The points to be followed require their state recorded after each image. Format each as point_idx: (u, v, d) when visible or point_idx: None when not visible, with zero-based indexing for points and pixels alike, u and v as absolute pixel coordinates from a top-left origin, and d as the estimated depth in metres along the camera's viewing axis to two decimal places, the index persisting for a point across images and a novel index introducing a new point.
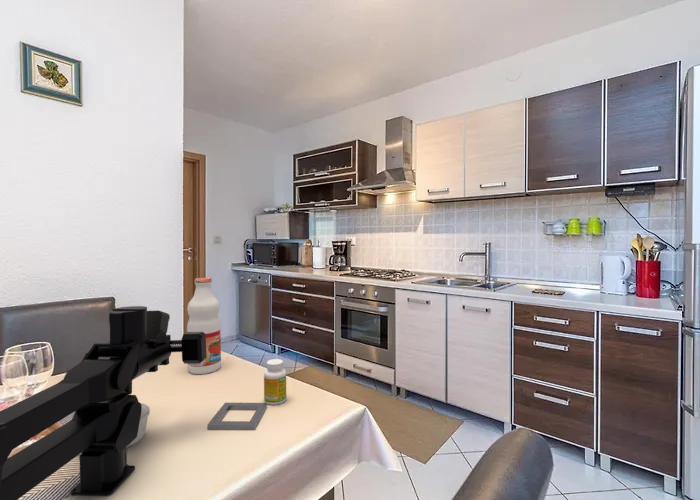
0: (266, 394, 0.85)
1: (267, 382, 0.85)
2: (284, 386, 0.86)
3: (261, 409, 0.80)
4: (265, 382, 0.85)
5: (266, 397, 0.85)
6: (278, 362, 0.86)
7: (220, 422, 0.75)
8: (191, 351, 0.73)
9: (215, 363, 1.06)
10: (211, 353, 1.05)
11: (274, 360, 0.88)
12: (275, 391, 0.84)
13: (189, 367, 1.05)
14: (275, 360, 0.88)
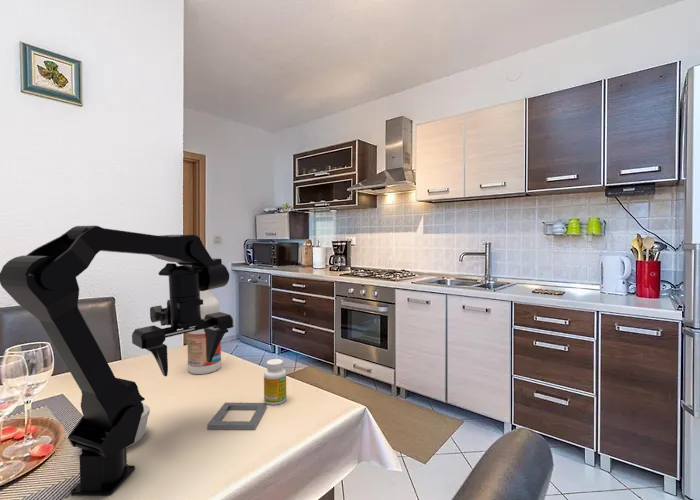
0: (266, 394, 0.85)
1: (267, 382, 0.85)
2: (284, 386, 0.86)
3: (261, 409, 0.80)
4: (265, 382, 0.85)
5: (266, 397, 0.85)
6: (278, 362, 0.86)
7: (220, 422, 0.75)
8: (220, 314, 0.79)
9: (215, 363, 1.06)
10: None
11: (274, 360, 0.88)
12: (275, 391, 0.84)
13: (189, 367, 1.05)
14: (275, 360, 0.88)
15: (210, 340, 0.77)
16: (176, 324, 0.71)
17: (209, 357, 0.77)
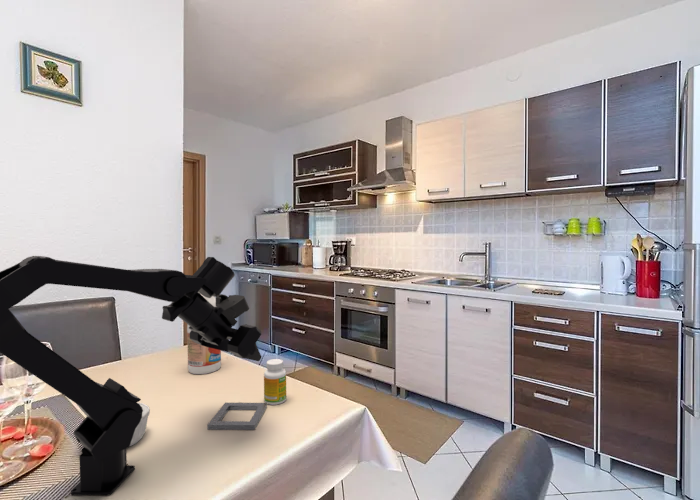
0: (266, 394, 0.85)
1: (267, 382, 0.85)
2: (284, 386, 0.86)
3: (261, 409, 0.80)
4: (265, 382, 0.85)
5: (266, 397, 0.85)
6: (278, 362, 0.86)
7: (220, 422, 0.75)
8: (239, 337, 0.70)
9: (215, 363, 1.06)
10: (211, 353, 1.05)
11: (274, 360, 0.88)
12: (275, 391, 0.84)
13: (189, 367, 1.05)
14: (275, 360, 0.88)
15: None
16: None
17: None
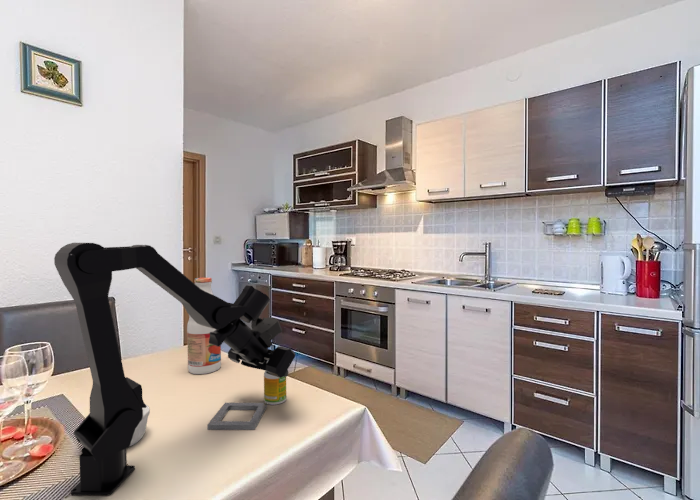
0: (266, 394, 0.85)
1: (267, 382, 0.85)
2: (284, 386, 0.86)
3: (261, 409, 0.80)
4: (265, 382, 0.85)
5: (266, 397, 0.85)
6: None
7: (220, 422, 0.75)
8: (276, 359, 0.78)
9: (215, 363, 1.06)
10: (211, 353, 1.05)
11: None
12: (275, 391, 0.84)
13: (189, 367, 1.05)
14: None
15: None
16: None
17: None
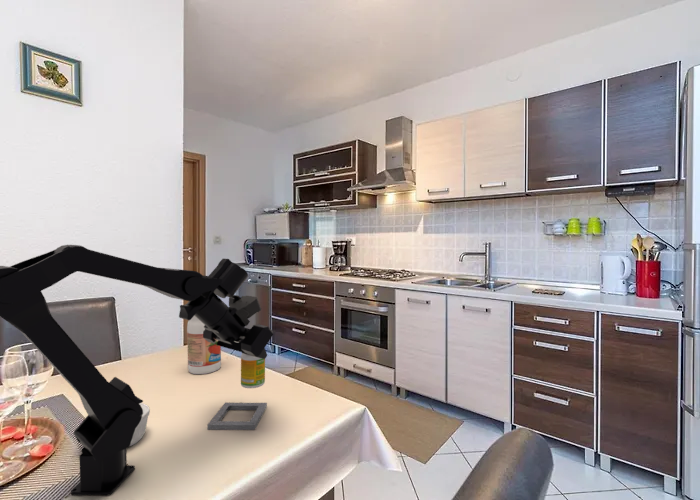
0: (243, 377, 0.80)
1: (243, 363, 0.79)
2: (262, 369, 0.81)
3: (261, 409, 0.80)
4: (242, 364, 0.80)
5: (242, 380, 0.80)
6: None
7: (220, 422, 0.75)
8: (252, 336, 0.72)
9: (215, 363, 1.06)
10: (211, 353, 1.05)
11: None
12: (252, 374, 0.79)
13: (189, 367, 1.05)
14: None
15: None
16: None
17: None
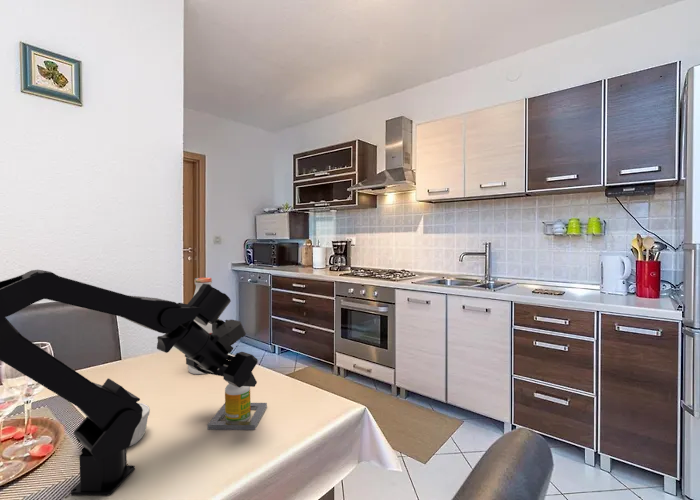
0: (227, 412, 0.76)
1: (227, 398, 0.76)
2: (247, 402, 0.78)
3: (261, 409, 0.80)
4: (226, 398, 0.77)
5: (227, 415, 0.76)
6: None
7: (220, 422, 0.75)
8: (235, 366, 0.69)
9: None
10: None
11: None
12: (236, 408, 0.76)
13: (189, 367, 1.05)
14: None
15: None
16: None
17: None
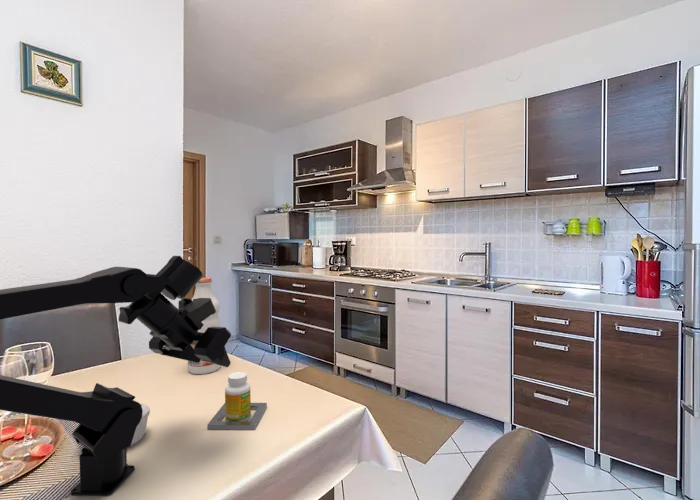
0: (227, 412, 0.76)
1: (227, 398, 0.76)
2: (247, 402, 0.78)
3: (261, 409, 0.80)
4: (226, 398, 0.77)
5: (227, 415, 0.77)
6: (240, 376, 0.78)
7: (220, 422, 0.75)
8: (207, 339, 0.65)
9: None
10: None
11: (237, 373, 0.79)
12: (236, 408, 0.76)
13: (189, 367, 1.05)
14: (239, 373, 0.79)
15: None
16: None
17: None
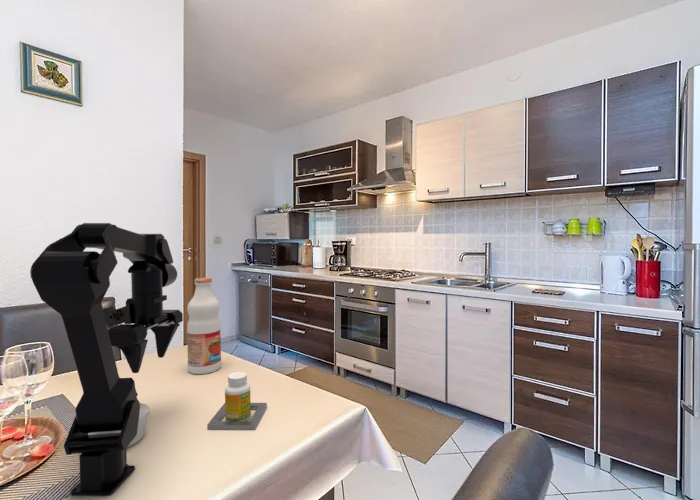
0: (227, 412, 0.76)
1: (227, 398, 0.76)
2: (247, 402, 0.78)
3: (261, 409, 0.80)
4: (226, 398, 0.77)
5: (227, 415, 0.77)
6: (240, 376, 0.78)
7: (220, 422, 0.75)
8: (168, 310, 0.83)
9: (215, 363, 1.06)
10: (211, 353, 1.05)
11: (237, 373, 0.79)
12: (236, 408, 0.76)
13: (189, 367, 1.05)
14: (239, 373, 0.79)
15: (163, 335, 0.80)
16: (147, 320, 0.73)
17: (163, 352, 0.80)
